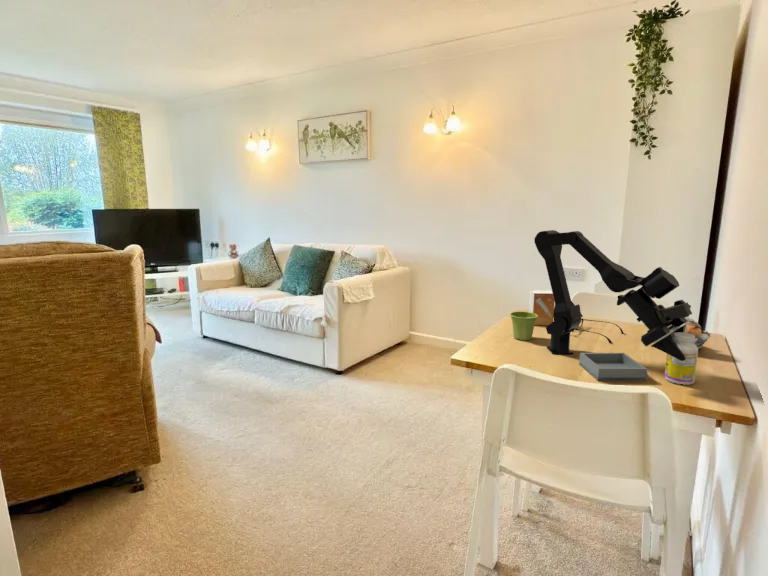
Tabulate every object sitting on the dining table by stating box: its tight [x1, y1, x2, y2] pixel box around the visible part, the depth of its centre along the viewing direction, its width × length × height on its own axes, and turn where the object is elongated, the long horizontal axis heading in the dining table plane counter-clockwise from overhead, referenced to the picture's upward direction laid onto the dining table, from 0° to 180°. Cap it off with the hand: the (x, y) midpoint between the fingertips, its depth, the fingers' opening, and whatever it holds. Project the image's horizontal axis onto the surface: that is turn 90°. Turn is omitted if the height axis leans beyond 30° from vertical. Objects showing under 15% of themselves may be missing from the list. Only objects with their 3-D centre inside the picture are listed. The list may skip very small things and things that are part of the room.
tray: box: [578, 352, 648, 382], centre depth 122 cm, size 13×13×4 cm
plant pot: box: [509, 310, 538, 341], centre depth 154 cm, size 9×9×9 cm
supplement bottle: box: [664, 332, 699, 386], centre depth 114 cm, size 7×7×13 cm
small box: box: [528, 289, 555, 326], centre depth 171 cm, size 8×6×13 cm
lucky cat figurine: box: [681, 316, 711, 350], centre depth 140 cm, size 15×12×14 cm
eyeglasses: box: [574, 318, 625, 344], centre depth 157 cm, size 16×16×4 cm
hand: (688, 356), depth 113 cm, fingers closed on supplement bottle, 7 cm apart
